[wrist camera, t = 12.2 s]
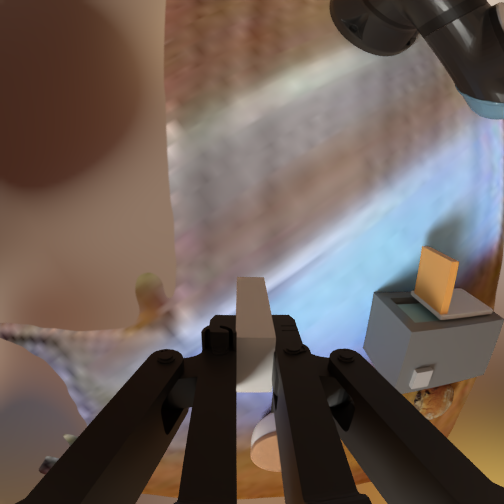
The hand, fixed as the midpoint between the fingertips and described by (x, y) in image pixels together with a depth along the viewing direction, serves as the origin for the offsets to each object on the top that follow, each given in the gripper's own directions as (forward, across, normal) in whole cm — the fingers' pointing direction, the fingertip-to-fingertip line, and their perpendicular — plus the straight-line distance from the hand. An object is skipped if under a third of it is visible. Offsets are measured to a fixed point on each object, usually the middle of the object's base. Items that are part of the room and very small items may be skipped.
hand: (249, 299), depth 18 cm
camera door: (+27, +34, -7) cm, 45 cm away
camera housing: (+29, +32, -18) cm, 47 cm away
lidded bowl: (+30, +8, -41) cm, 51 cm away
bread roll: (+30, +43, -39) cm, 65 cm away
